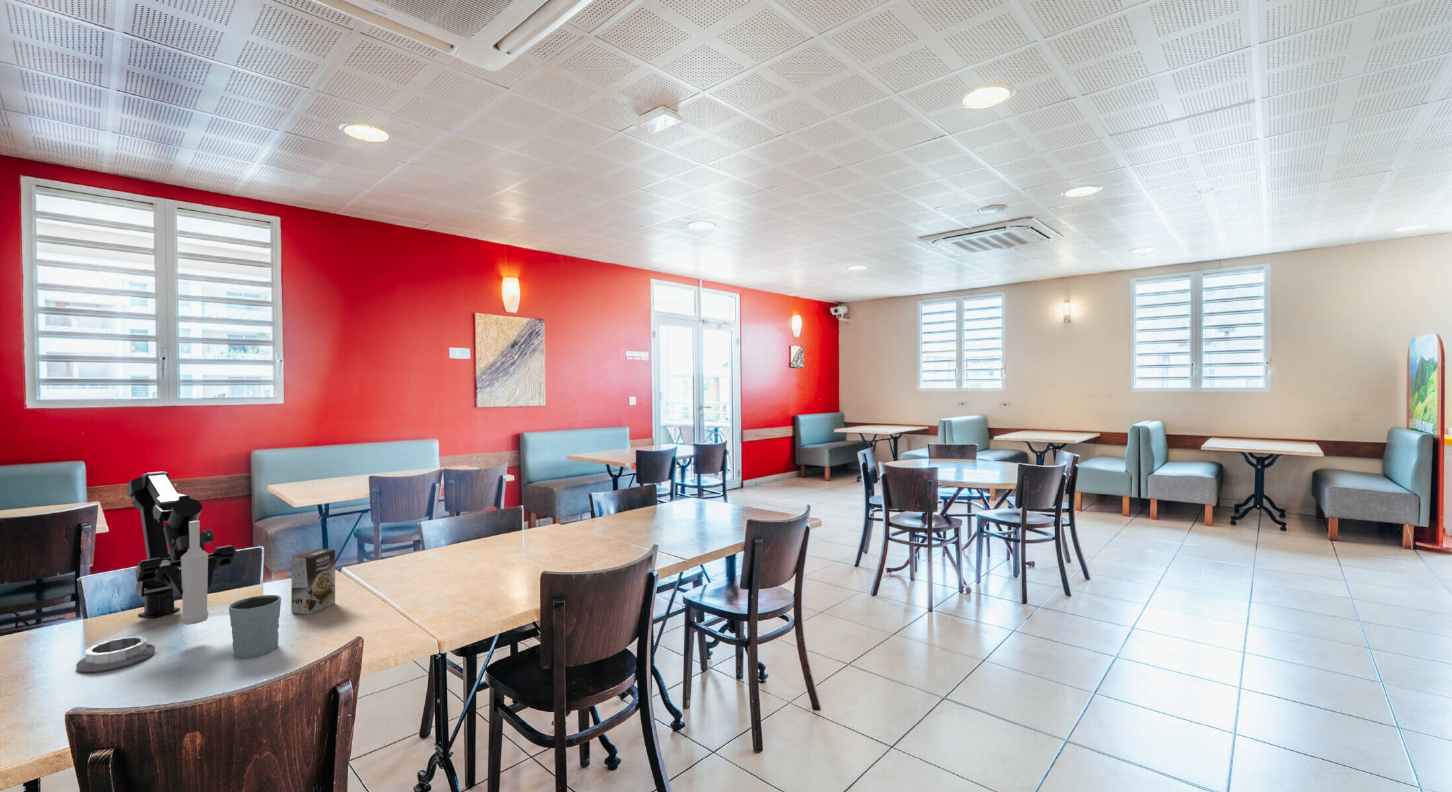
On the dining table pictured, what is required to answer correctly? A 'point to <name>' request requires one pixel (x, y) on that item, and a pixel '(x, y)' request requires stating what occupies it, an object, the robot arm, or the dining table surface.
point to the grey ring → (115, 654)
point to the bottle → (194, 579)
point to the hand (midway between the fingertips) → (195, 590)
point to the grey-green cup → (255, 625)
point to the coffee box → (313, 581)
